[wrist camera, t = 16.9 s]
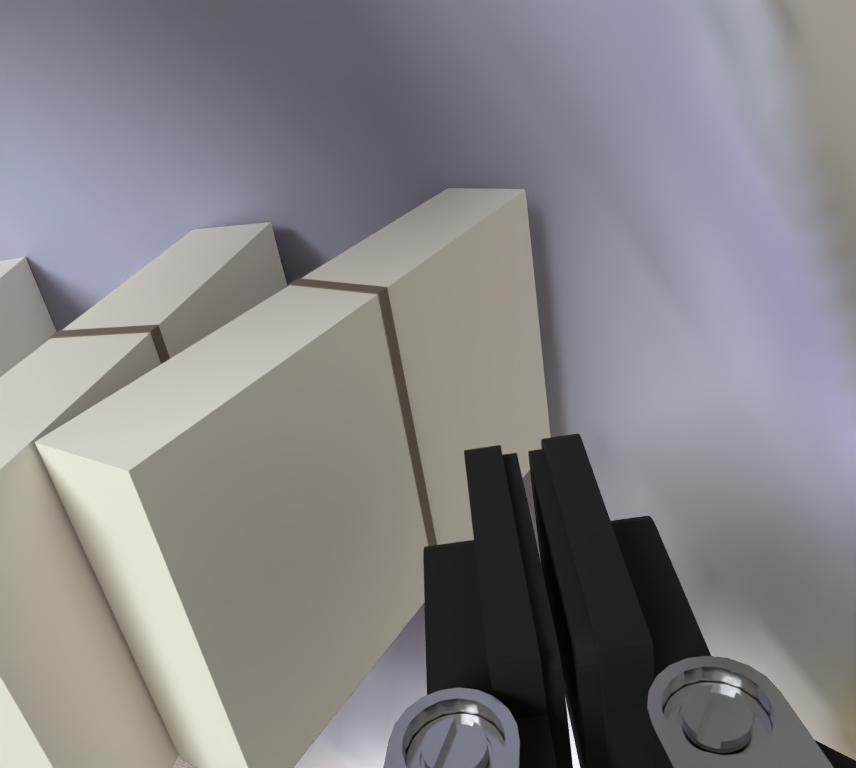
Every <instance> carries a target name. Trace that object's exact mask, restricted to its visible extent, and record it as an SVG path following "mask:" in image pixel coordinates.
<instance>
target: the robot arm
mask: <svg viewBox="0 0 856 768" xmlns="http://www.w3.org/2000/svg"><path fill="white" fill-rule="evenodd" d="M541 447H542V449H539V450H532V451H528V455H529V465H530V473H531V482H532V490H533V499H534V507H535V516H536V525H537V533H538V542H539V550H540V558H539V553H538V549H537V544H536V539H535V535H534V530H533V525H532V521H531V516H530V512H529V507H528V502H527V498H526V493H525V488H524V484H523V479H522V474H521V470H520V465H519V461H518V456H517V453H511V454H504V455H502V450H501V445H496V446H489V447H483V448H476V449H469V450H464V457H465V466H466V474H467V483H468V492H469V501H470V510H471V519H472V527H473V536H474V540H469V541H462V542H455V543H448V544H441V545H433V546H426V547H424V550H423V564H424V599H425V634H426V669H427V696H424V697H422V698H420V699H419V700H418V701H416V702H415V703H414V704H412V705H411V706H410V707H408V708H407V709H406V710H405V711H404V713H403V714H402V715H401V717H400V718H399V719H398V721H397V722H396V723H395V725H394V728H393V731H392V733H391V736H390V739H389V742H388V747H387V752H386V758H385V763H384V768H573V765H572V756H571V747H570V738H569V729H568V720H567V711H566V702H567V707H568V711H569V716H570V721H571V726H572V730H573V735H574V740H575V745H576V749H577V754H578V759H579V764H580V768H856V761H855V760H853V759H851V758H849V757H847V756H845V755H843V754H841V753H839V752H837V751H835V750H833V749H831V748H829V747H827V746H825V745H823V744H821V743H819V742H817V741H815V740H814V739H813V737H812V736H811V735H810V733H809V732H808V730H807V729H806V727H805V726H804V725H803V723H802V722H801V720H800V719H799V718H798V716H797V715H796V713H795V712H794V710H793V709H792V708H791V706H790V705H789V703H788V702H787V700H786V699H785V698H784V696H783V695H782V693H781V692H780V691H779V690H778V689H777V688H776V687H775V685H774V684H773V683H772V682H771V681H770V680H769V679H768V678H767V677H766V676H764V675H763V674H761V673H760V672H758V671H756V670H755V669H753V668H752V667H750V666H748V665H746V664H743V663H740V662H737V661H734V660H731V659H729V658H722V657H713V656H711V654H710V652H709V650H708V647H707V645H706V643H705V640H704V638H703V636H702V633H701V631H700V629H699V626H698V624H697V622H696V619H695V617H694V615H693V612H692V610H691V607H690V605H689V603H688V600H687V598H686V596H685V593H684V591H683V589H682V586H681V584H680V582H679V579H678V577H677V575H676V572H675V570H674V568H673V565H672V563H671V560H670V558H669V556H668V553H667V551H666V549H665V546H664V544H663V542H662V539H661V537H660V535H659V532H658V530H657V528H656V525H655V523H654V521H653V520H652V518H651V517H650V516H643V517H636V518H629V519H621V520H614V521H610V519H609V516H608V513H607V510H606V507H605V505H604V502H603V499H602V496H601V493H600V490H599V488H598V485H597V482H596V479H595V476H594V473H593V470H592V468H591V465H590V462H589V459H588V456H587V453H586V450H585V448H584V445H583V442H582V439H581V437H580V434H573V435H566V436H559V437H552V438H545V439H541ZM540 559H541V562H540ZM565 697H566V702H565Z"/></svg>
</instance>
